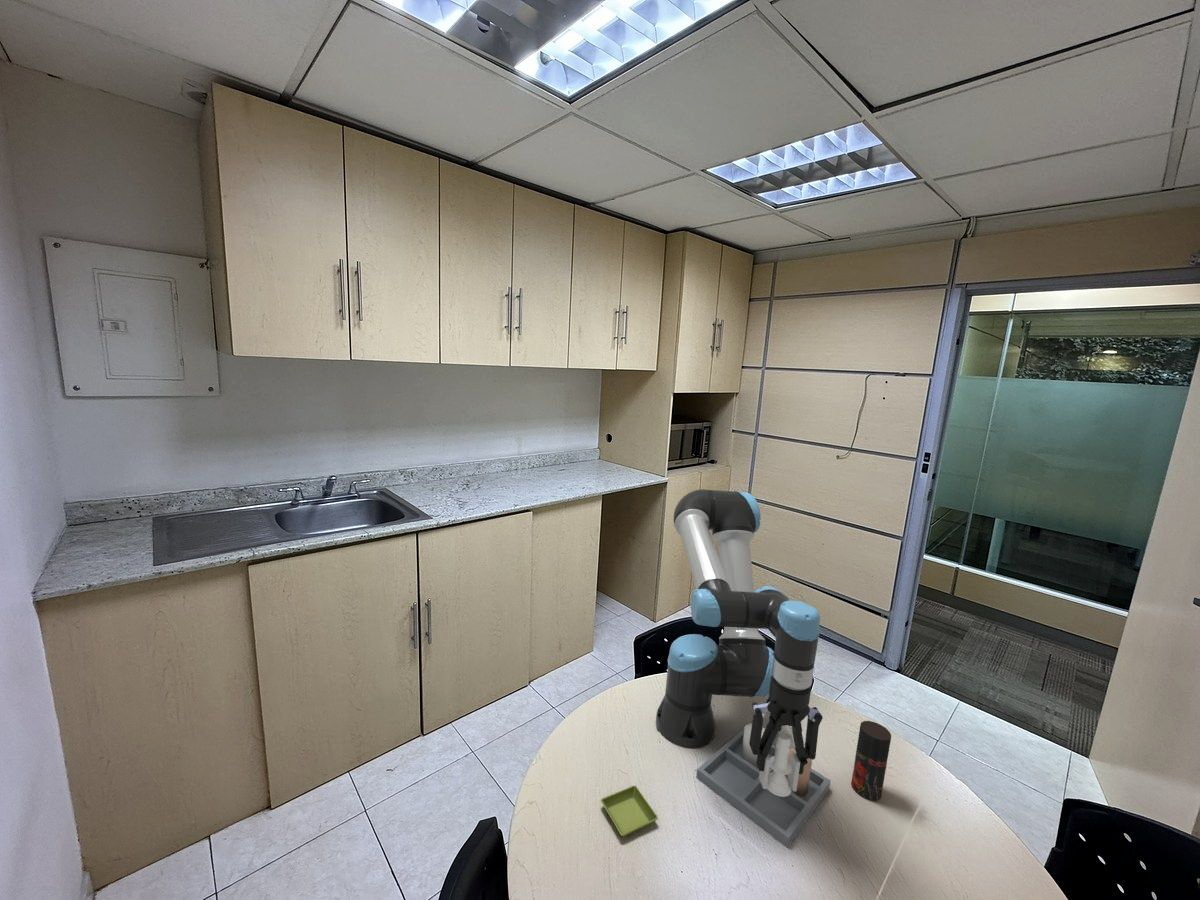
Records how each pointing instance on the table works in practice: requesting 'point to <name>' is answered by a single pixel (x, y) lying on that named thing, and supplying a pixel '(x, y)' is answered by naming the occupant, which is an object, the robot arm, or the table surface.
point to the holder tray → (760, 792)
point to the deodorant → (871, 760)
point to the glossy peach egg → (801, 777)
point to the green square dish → (629, 810)
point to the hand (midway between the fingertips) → (777, 784)
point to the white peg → (780, 767)
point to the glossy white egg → (746, 747)
